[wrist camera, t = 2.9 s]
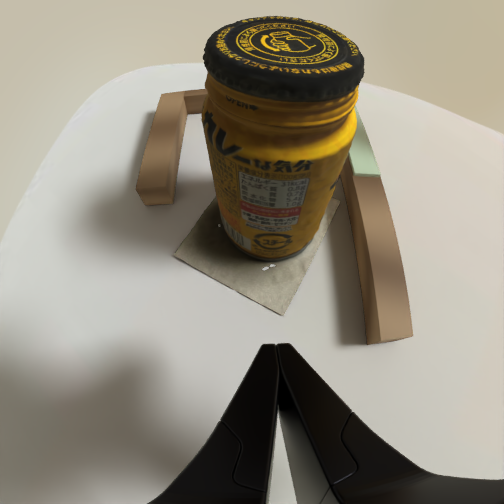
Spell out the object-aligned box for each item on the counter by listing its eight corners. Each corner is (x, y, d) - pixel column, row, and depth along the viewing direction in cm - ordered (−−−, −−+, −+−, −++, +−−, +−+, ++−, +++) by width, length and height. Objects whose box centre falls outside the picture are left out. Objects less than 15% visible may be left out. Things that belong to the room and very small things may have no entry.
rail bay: (397, 340, 15) (415, 335, 13) (130, 349, 15) (113, 346, 13) (343, 107, 23) (348, 88, 20) (166, 111, 23) (160, 91, 20)
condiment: (339, 202, 19) (402, 43, 8) (282, 316, 16) (342, 191, 5) (244, 160, 20) (237, -1, 9) (175, 257, 17) (81, 99, 6)
